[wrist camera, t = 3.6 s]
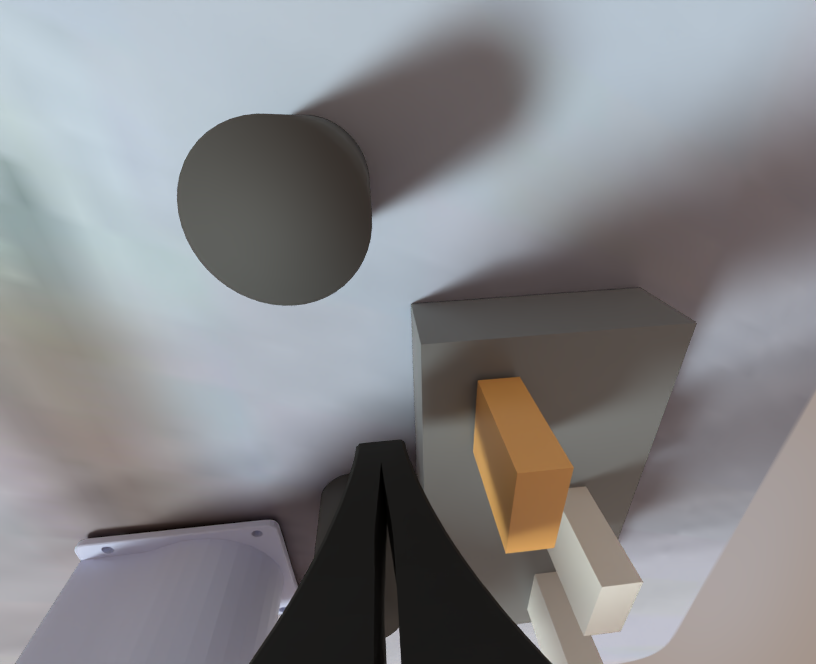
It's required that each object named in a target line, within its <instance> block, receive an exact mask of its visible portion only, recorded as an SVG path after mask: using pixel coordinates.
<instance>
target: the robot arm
mask: <svg viewBox="0 0 816 664" xmlns="http://www.w3.org/2000/svg"><path fill="white" fill-rule="evenodd" d="M387 526H388V533H389V540H390V546H391V553H392V560H393V567H394V573H395V580H396V587H397V599H398V615H399V632H400V648H401V664H552V663H551V662H550V661H549V660H548V659H547V658H546V657H545V656H544V655H543V654H542V652H541V651H540V650H539V649H538V648H537V647H536V646H535V645H534V644H533V643H532V642H531V640H530V639H529V638H528V637H527V636H526V635H525V634H524V633H523V632H522V630H521V629H520V628H519V627H518V626H517V625H516V624H515V622H514V621H513V620H512V619H511V618H510V617H509V616H508V614H507V613H506V612H505V611H504V610H503V608H502V607H501V606H500V605H499V603H498V602H497V601H496V600H495V598H494V597H493V596H492V595H491V593H490V592H489V591H488V590H487V588H486V587H485V586H484V585H483V583H482V582H481V581H480V580H479V578H478V577H477V576H476V574H475V573H474V571H473V570H472V569H471V567H470V566H469V565H468V563H467V562H466V560H465V559H464V557H463V556H462V555H461V553H460V552H459V550H458V549H457V547H456V546H455V544H454V543H453V541H452V540H451V538H450V537H449V535H448V533H447V532H446V530H445V529H444V527H443V525H442V523H441V522H440V520H439V518H438V517H437V515H436V513H435V511H434V510H433V508H432V506H431V504H430V502H429V500H428V498H427V496H426V495H425V493H424V491H423V489H422V487H421V485H420V483H419V480H418V478H417V476H416V474H415V471H414V469H413V467H412V464H411V461H410V459H409V456H408V453H407V449H406V445H405V442H404V441H402V440H392V441H382V442H371V443H361V444H359V445H358V446H357V447H356V452H355V457H354V461H353V465H352V468H351V472H350V475H349V478H348V481H347V484H346V487H345V489H344V492H343V495H342V497H341V500H340V502H339V505H338V508H337V510H336V512H335V515H334V517H333V519H332V521H331V524H330V526H329V528H328V530H327V533H326V535H325V537H324V539H323V541H322V543H321V545H320V547H319V549H318V551H317V553H316V555H315V557H314V559H313V561H312V563H311V565H310V567H309V569H308V570H307V572H306V574H305V576H304V578H303V579H302V581H301V583H300V585H299V586H298V585H297V582H296V579H295V575H294V572H293V569H292V566H291V562H290V559H289V556H288V552H287V549H286V546H285V543H284V539H283V536H282V533H281V529H280V526H279V524H278V523H277V522H276V521H274V520H258V521H249V522H239V523H230V524H220V525H211V526H202V527H192V528H183V529H173V530H164V531H154V532H145V533H136V534H126V535H117V536H107V537H98V538H88V539H83V540H81V541H80V542H79V543H78V544H77V546H76V547H75V553H76V554H77V556H78V557H79V559H80V560H81V561H80V563H79V564H78V566H77V567H76V569H75V571H74V572H73V574H72V575H71V577H70V578H69V580H68V581H67V583H66V585H65V586H64V588H63V589H62V591H61V592H60V594H59V596H58V597H57V599H56V600H55V602H54V603H53V605H52V606H51V608H50V610H49V611H48V613H47V614H46V616H45V617H44V619H43V620H42V622H41V624H40V625H39V627H38V628H37V630H36V631H35V633H34V635H33V636H32V638H31V639H30V641H29V642H28V644H27V645H26V647H25V649H24V650H23V652H22V653H21V655H20V656H19V658H18V660H17V661H16V663H15V664H387V663H386V641H385V579H386V547H387ZM279 614H282V615H281V616H280V618H279V619H278V615H279ZM277 619H278V621H277Z"/></svg>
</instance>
